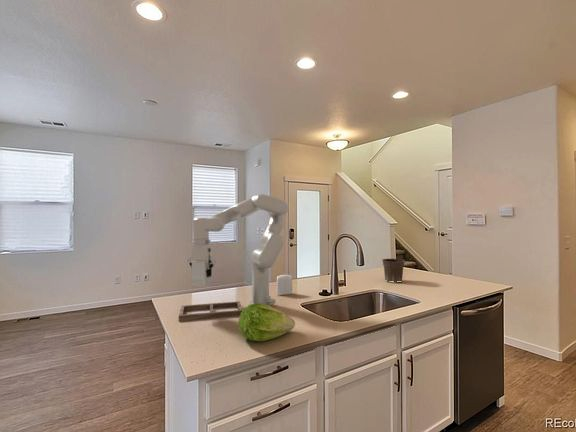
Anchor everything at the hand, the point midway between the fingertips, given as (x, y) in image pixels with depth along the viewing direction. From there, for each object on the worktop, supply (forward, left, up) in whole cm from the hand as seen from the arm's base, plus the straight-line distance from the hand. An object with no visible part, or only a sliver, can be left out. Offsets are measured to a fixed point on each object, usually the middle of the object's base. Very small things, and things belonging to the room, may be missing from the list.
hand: (201, 275), depth 151 cm
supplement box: (0, 0, -5) cm, 5 cm away
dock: (-4, -3, -19) cm, 20 cm away
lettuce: (-43, +14, -20) cm, 50 cm away
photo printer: (-27, -49, -20) cm, 59 cm away
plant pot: (-92, -111, -20) cm, 145 cm away
